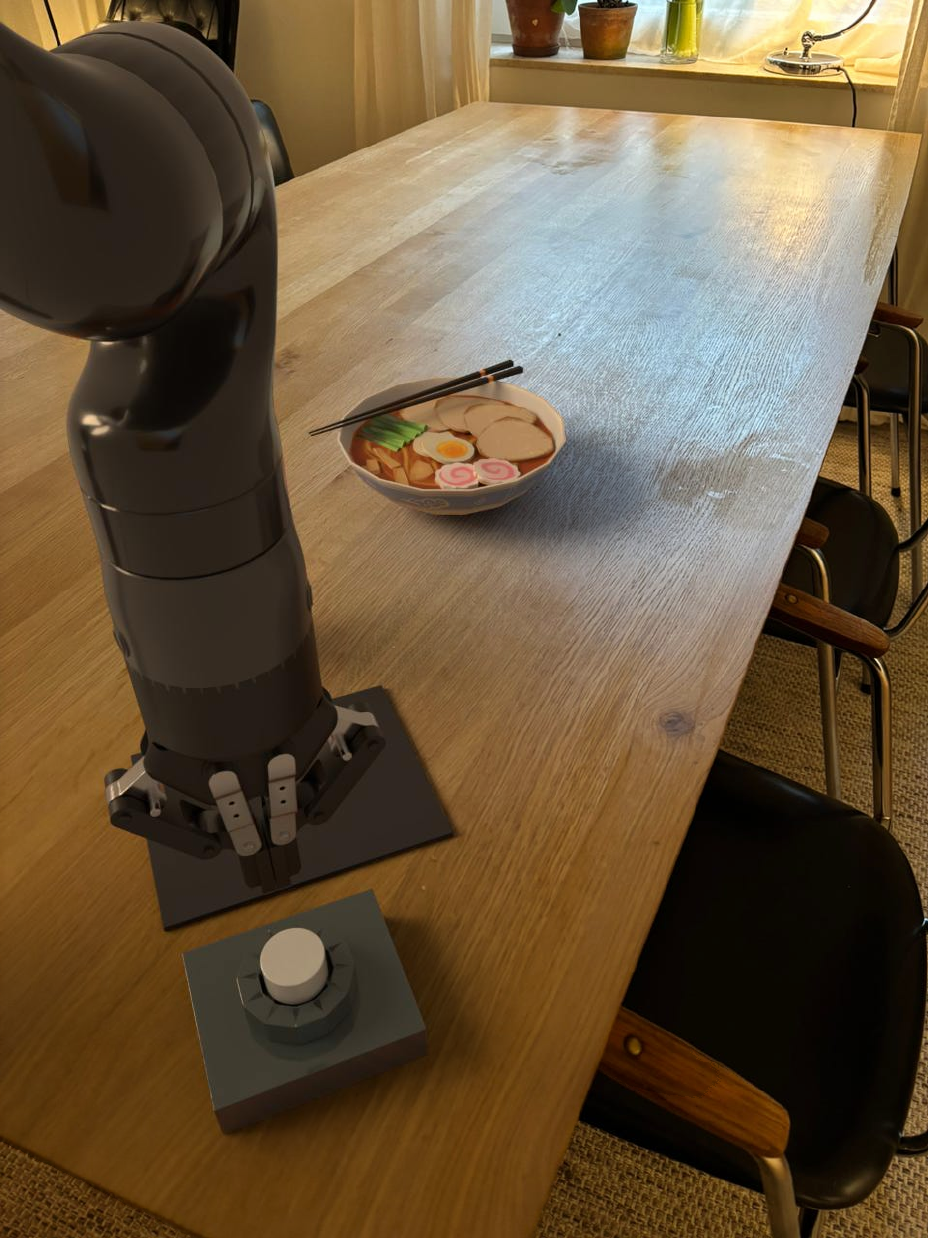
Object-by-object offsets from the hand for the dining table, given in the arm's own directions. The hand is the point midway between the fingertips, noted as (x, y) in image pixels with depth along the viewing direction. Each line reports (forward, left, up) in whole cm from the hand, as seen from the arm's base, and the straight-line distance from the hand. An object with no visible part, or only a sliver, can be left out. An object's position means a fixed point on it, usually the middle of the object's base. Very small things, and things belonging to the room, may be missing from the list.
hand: (272, 877), depth 50 cm
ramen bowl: (+29, +50, -14) cm, 60 cm away
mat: (+3, +17, -14) cm, 22 cm away
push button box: (0, 0, -14) cm, 14 cm away
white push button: (0, 0, -10) cm, 10 cm away
